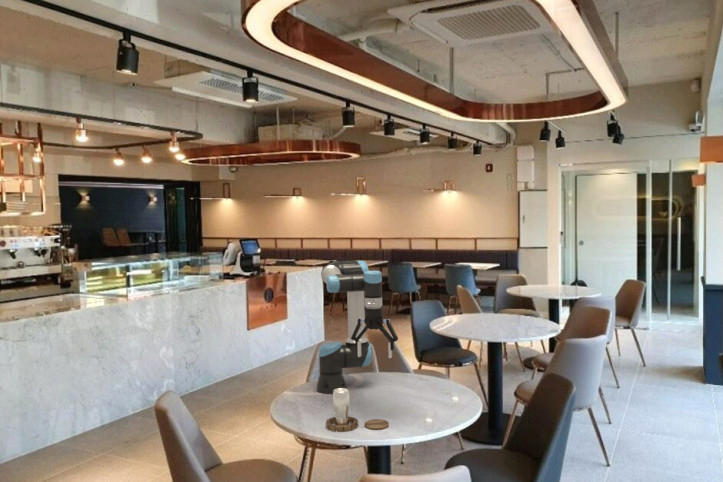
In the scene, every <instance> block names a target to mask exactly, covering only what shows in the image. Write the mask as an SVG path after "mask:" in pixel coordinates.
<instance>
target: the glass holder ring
mask: <svg viewBox="0 0 723 482" xmlns="http://www.w3.org/2000/svg"><path fill="white" fill-rule="evenodd" d="M348 421H349V425H344V426H336V425H335V416H334V417H330V418H328V419H327V420H326V421H325V428H326V429H327V431H330V430H331V432H334V431H335V432H336V431H337V432H336V433H346V432H351V431H354V430H356V429H357V428H358V427H359V419H357V418H356V417H354V416H349V415H348Z"/></svg>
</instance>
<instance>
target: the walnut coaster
mask: <svg viewBox="0 0 723 482" xmlns="http://www.w3.org/2000/svg"><path fill="white" fill-rule="evenodd" d="M389 425H390V424H389V421H388V420H385V419H380V418H378V419H375V418H374V419H369V420H366V421H364V428H365V429H367V430H372V431H380V430H386V429H387V428H389V427H390V426H389Z"/></svg>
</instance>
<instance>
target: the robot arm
mask: <svg viewBox="0 0 723 482" xmlns="http://www.w3.org/2000/svg"><path fill="white" fill-rule="evenodd" d="M320 276H321V280H322V281H323V282H324V283H325V284H326V291H327V292H328V293H333V294H337V293H346V296H347V299H346V300H347V329H348V331H347V333H348V337H347V338H346V339H345V344H343V343H342V342H341V341H330V342H326V343H324V344H322V345H321V346H319V348H318V349H319V350H318V361H319V363H318V365H319V368H318V370H319V376H318V379H317V383H316V388H315V389H316V392H318V393H321V394H333V390H334V389H337V388H346V389H347V382H346V380H345V377H344V375H343V369H347V368H362V367H367V366H369V365H370V364H371V362H372V357H373V356H372V355H373V347H372V346H373V345H372V344H371V343H370V342H369V339H368V338H367V337H366V332H367V331H368V330H377V331H378V330H379V332H381V333H382V334H383V335H384V337H386V339H387V340H388V341H389V342H388V346H387V347H388V359H391V358H392V357H393V350H395V342H398V340H399V337H398V335H397V333H396V332H395V330H394V328H393V325H392V323H391V319H390V318H386V319H384V317H383V316H384V315H383V308H382V307H383V282H382V281H383V278H382V272H381V271H380V270H369V265H368V264H367V262H366V261H365V260H342V261H332V262H330V263H327V264H326V265H325V266H324V267H323V268H322V270H321V271H320ZM383 323H384V324H385V325H386V327H387V329H388V331H389V332H388V331H387V329H386V328H385V326H384V325H383Z"/></svg>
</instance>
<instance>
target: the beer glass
mask: <svg viewBox="0 0 723 482" xmlns="http://www.w3.org/2000/svg"><path fill="white" fill-rule="evenodd" d="M350 400H351V397H350V389H348V388H347V387H346V388H337V389H334V390H333V393H332V405H333V411H334V415H335V416H334V417H335V423H334V425H336V426H344V425H350V423H349V421H348V416H349V413H350V412H349V411H350V404H351V401H350Z"/></svg>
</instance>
